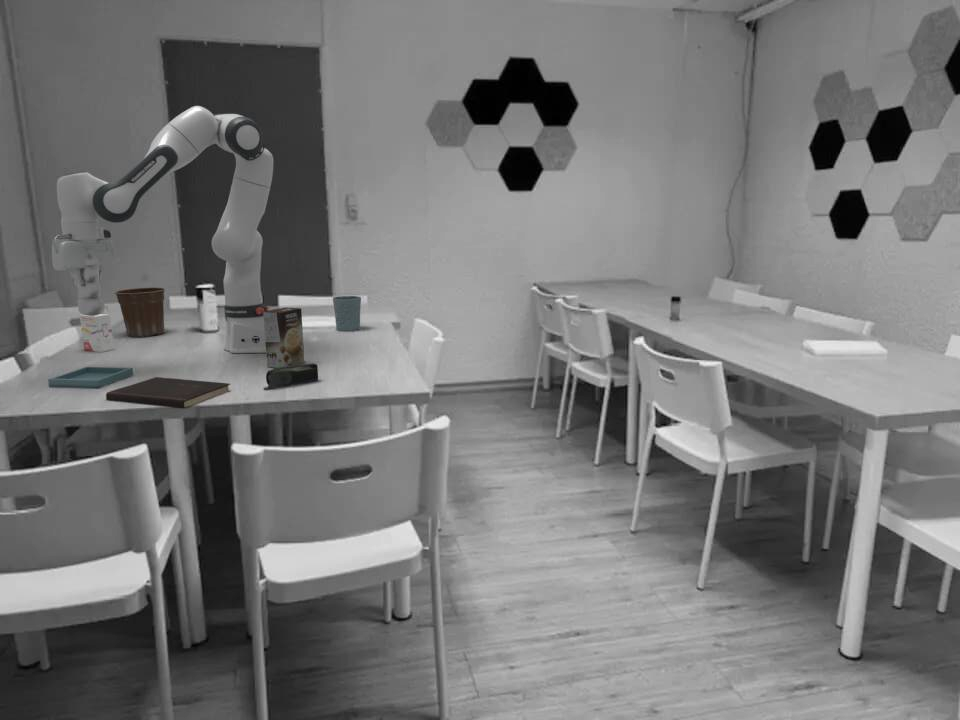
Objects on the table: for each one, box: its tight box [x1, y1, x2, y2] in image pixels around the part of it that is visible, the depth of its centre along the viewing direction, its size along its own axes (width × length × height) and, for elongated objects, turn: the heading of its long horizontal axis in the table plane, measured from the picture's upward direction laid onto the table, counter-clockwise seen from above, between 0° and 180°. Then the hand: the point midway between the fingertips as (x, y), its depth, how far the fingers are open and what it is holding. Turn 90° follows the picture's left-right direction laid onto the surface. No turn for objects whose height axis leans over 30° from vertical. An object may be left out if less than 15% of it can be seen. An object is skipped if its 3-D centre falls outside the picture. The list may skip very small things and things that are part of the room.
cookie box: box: [263, 307, 306, 369], centre depth 194 cm, size 9×6×16 cm
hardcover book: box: [105, 376, 231, 409], centre depth 165 cm, size 16×23×2 cm
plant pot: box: [114, 287, 166, 338], centre depth 244 cm, size 16×16×16 cm
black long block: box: [263, 363, 319, 391], centre depth 173 cm, size 5×3×15 cm
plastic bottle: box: [77, 246, 106, 316], centre depth 188 cm, size 6×7×20 cm
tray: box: [47, 366, 134, 389], centre depth 180 cm, size 14×14×2 cm
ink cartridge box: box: [79, 304, 115, 353], centre depth 218 cm, size 9×5×15 cm, turn 65°
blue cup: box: [332, 295, 362, 333], centre depth 250 cm, size 10×10×12 cm
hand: (88, 284), depth 188 cm, fingers closed on plastic bottle, 5 cm apart
